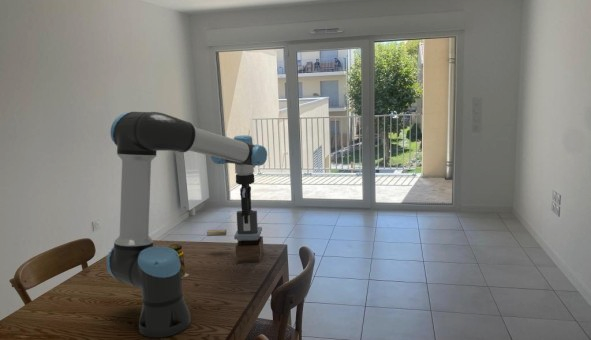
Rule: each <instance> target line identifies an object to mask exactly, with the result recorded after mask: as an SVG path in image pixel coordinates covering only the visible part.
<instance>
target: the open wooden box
mask: <svg viewBox="0 0 591 340" xmlns="http://www.w3.org/2000/svg"><path fill="white" fill-rule="evenodd" d="M263 251H264V237H263V236H262V235H260V237H259V239H257V240H243V241H237V242H236V244H235V260H236V262H235V263H238V264H239V263H261V262H262V259H263V255H264V252H263Z"/></svg>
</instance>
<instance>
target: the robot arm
mask: <svg viewBox="0 0 591 340" xmlns="http://www.w3.org/2000/svg"><path fill="white" fill-rule="evenodd" d="M109 133H110V139H111V141H112V142H113V143H114V145H115V146H117V148H116V149H117V150H116V155H117V156H118V157H119V158H120V159H121V181H120V183H121V184H120V211H119V213H120V214H119V235H118V237H117V238H116V239H115V240H114V241H113V247H112V248H110V249H111V250H110V251H109V252H108V254H107V256H106V261H105V262H106V263H105V264H106V269H107V271H108V273H109V275H110V276H112V277H113V278H114V279H115V280H117V281H118V282H120V283H124V284H127V285H130V286H133V287H134V288H135V287H136V288H138V289H140V290H141V299H142V307H141V310H140V315H139V320H138V327H139V332H140V334H141V335H143V336H145V337H147V338H154V339H156V338H158V339H159V338H167V337H170V336H174V335H176V334H179V333H181V332H183V331H184V330H185V329H186V328H188V327H189V326H190V324H191V319H192V318H191V312H190V310H189V308H188V305H187V302H186V301H185V299H184V295H183V283H182V280H183V279H182V278H181V263H180V260H179V255H178V253H177V252H176V251H175V250H174V249H172V248H170V247H169V246H164V245H162V246H159V245H157V246H154V239H152V237H150V235H149V231H150V230H149V229H150V226H149V225H150V206H151V205H150V204H151V203H150V202H151V201H150V200H151V199H150V197H151V177H152V176H151V175H152V173H151V172H152V162H153V160H154V159H155V158H156V157H157V151H162V152H163V151H169V152H172V151H173V152H179V153H187V152H193V153H197V154H202V155H206V156H209V157H210V159H211V160H212V162H213V163H214V164H216V165H224V164H234V170H235V171H234V172H235V173H234V174H236V175H235V183H236V184H237V185H241V187H240V188H239V192H240V193H239V195H240V202H241V203H240V206H241V211H242V214H241V216H243V228H244V231H250V215H249V211H254V210H253V209H252V198H251V197H252V193H251V191H252V186H251V185H252V184H254V183H255V174H254V172H255V169H254V168H256V166H257V167H259V166H260V167H261V166H263V165H264V164H265V163H266V162H267V159H268V150H267V148H266V147H265V146H264V145H260V144H254V142H253V136H251V135H236V136H234V137H232V138H231V137H229V136H228V137H227V136H224V135H221V134H218V133H214V132H211V131H208V130H205V129H201V128H198V127H195V125H194V124H193V123H192V122H190V121H186V120H183V119H181V118H178V117H175V116H172V115H170V114H166V113H163V112H158V111H157V112H156V111H130V112H124V113H121V114H120V115H118V116H117V117H116V118H115V119H114V121H113V122H112V124H111V127H110V132H109Z"/></svg>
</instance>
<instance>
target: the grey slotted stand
mask: <svg viewBox="0 0 591 340" xmlns="http://www.w3.org/2000/svg"><path fill="white" fill-rule="evenodd" d="M241 214H242V210H237V211H236V226H237V228H236V229H237V230H236V232H235V234H234V235H233V236H234V237H233V239H234V240H236V241H237V242H238V241H243V240H257V239H259V237H260V236H261V234H262V230H263V226H258V210H253V211H249V215H250V231H244V228H243V216H241Z"/></svg>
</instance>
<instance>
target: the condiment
mask: <svg viewBox="0 0 591 340" xmlns="http://www.w3.org/2000/svg"><path fill="white" fill-rule="evenodd" d="M168 247H170V248H172V249H174V250H175V251H176V252H177V253H178V255H179V260H180V263H181V279H183V278H186V277H189V276H190V274H188V273H186V269H185V268H186V267H185V255H184V251H183V246H182V244H178V243H177V244H176V243H175V244H171V245H169V246H168Z"/></svg>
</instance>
